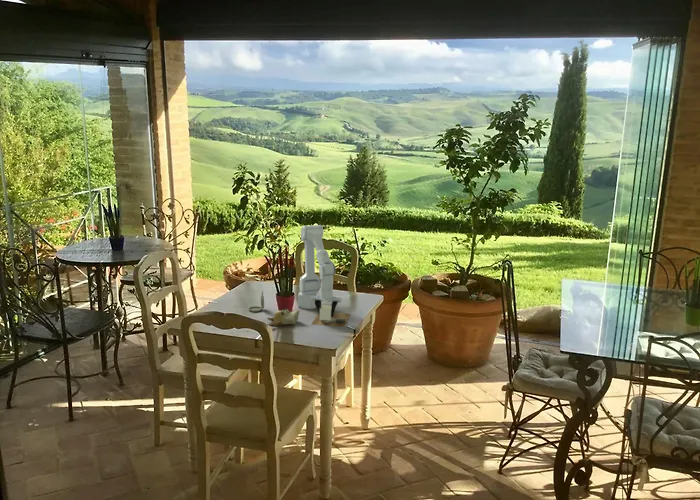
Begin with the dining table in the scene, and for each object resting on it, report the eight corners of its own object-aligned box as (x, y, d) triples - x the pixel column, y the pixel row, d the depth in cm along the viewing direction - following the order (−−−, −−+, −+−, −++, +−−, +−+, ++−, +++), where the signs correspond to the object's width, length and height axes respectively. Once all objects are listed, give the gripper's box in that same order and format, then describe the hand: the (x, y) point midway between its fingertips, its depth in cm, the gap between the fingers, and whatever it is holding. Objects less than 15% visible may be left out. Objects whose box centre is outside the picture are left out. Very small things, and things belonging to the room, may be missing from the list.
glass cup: (246, 310, 292) (245, 291, 289) (259, 306, 298) (259, 287, 295) (256, 314, 286) (256, 294, 284) (269, 310, 292) (269, 291, 290)
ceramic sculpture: (299, 310, 266) (266, 313, 264) (300, 328, 268) (267, 331, 266) (298, 303, 276) (266, 306, 274) (298, 321, 278) (267, 323, 276)
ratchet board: (311, 327, 270) (311, 316, 269) (318, 314, 289) (318, 303, 287) (345, 330, 268) (345, 318, 267) (350, 316, 287) (350, 306, 286)
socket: (319, 319, 272) (319, 308, 271) (321, 316, 277) (321, 305, 276) (330, 320, 271) (331, 309, 270) (332, 316, 277) (332, 305, 275)
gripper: (309, 289, 268) (309, 317, 271) (340, 291, 266) (339, 319, 269) (312, 285, 275) (312, 312, 278) (342, 287, 273) (342, 314, 276)
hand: (326, 315), depth 274 cm, fingers closed on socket, 5 cm apart
